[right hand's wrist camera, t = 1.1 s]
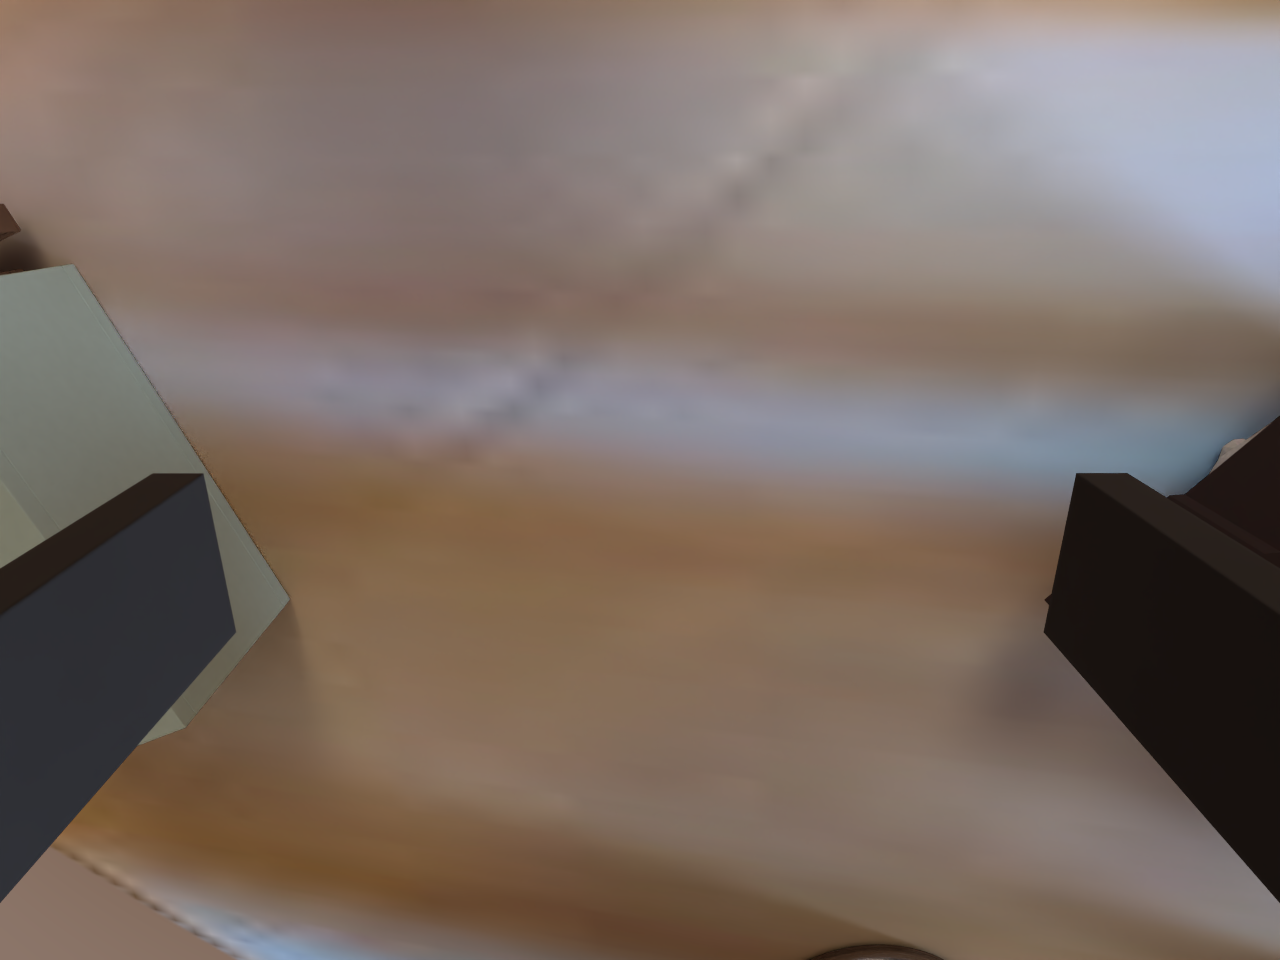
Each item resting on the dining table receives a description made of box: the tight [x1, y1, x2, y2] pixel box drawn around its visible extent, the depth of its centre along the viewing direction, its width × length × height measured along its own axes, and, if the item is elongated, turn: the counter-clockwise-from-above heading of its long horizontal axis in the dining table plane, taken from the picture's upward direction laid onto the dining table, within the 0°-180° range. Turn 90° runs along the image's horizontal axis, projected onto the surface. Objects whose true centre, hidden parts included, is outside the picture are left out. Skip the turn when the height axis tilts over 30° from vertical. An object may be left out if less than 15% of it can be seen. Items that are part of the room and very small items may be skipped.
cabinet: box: [0, 264, 290, 746], centre depth 35 cm, size 18×11×10 cm, turn 23°
